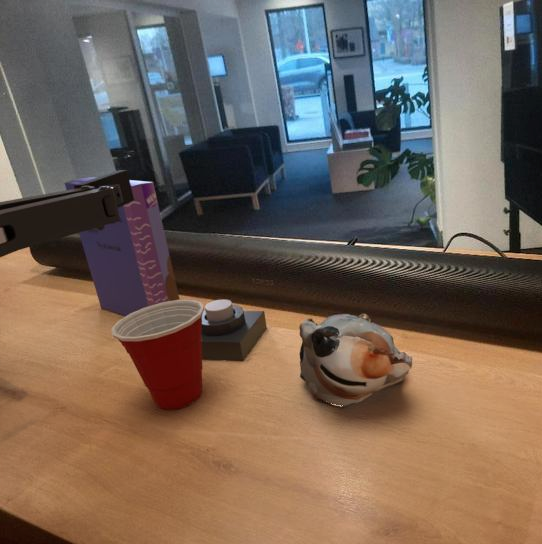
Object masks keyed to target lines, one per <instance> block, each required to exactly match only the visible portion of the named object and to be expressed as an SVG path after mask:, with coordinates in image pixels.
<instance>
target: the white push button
mask: <svg viewBox="0 0 542 544" xmlns="http://www.w3.org/2000/svg"><path fill="white" fill-rule="evenodd" d="M232 305H233V302H232V301H231V300H230V299H225V298H224V299H222V298H221V299H216V300H212V301H209V302H207V304H205V306H204V310H205V311H206V316H207V320H208V321H212V322H218V321H223V320H227V319H229V318H231V317H233V316H234V312H233V306H232Z"/></svg>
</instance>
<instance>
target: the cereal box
mask: <svg viewBox="0 0 542 544" xmlns="http://www.w3.org/2000/svg"><path fill="white" fill-rule="evenodd" d="M97 177H98V176H97ZM97 177H96V176H89V177H81V178H75V179H71V180H69V181H65V182H64V186H65V190H71V189H75V188H74V185H76V184H79V183H82V182H85V181H88V180H91V179H94V178H97ZM129 180H130V184H131V189H132V193H133V197H134V201H132V202H130V203H127V204H125V205H123V206H121V207H119V208H118V210H119V214H120V219H121V220H120V221H118V222H116V223H113V224H107V225H105V229H103V230H100V231H99V230H97V229H95V228H93V229H90V230H86V231H83V232H80V233H78V234H79V238H80V241H81V244H82V247H83V251H84V254H85V255H84V256H85V258H86V261H87V265H88V268H89V272H90V276H91V278H92V282H93V285H94V289H95V292H96V296H97V299H98V302H99V306H100V309H101V310H104V311H107V312H110V313H113V314H117V315H120V316H123V317H126V316H127V315H129V314H131V313H133V312H136V311H138V310H140V309H143V308H145V307H148V306H152V305H155V304H159V303H163V302H169V301H175V300H181V299H180V295H179V292H178V286H177V282H176V277H175V273H174V269H173V264H172V260H171V255H170V251H169V246H168V242H167V237H166V234H165V229H164V225H163V221H162V215H161V210H160V207H159V201H158V198H157V194H156V189H155V185H154V182H153V181H147V180H146V181H143V180H132V179H129Z"/></svg>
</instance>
